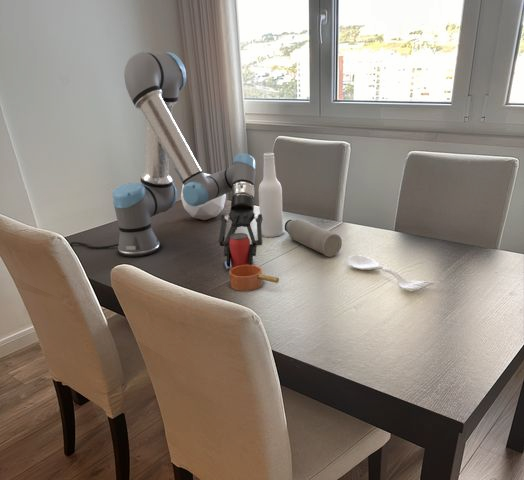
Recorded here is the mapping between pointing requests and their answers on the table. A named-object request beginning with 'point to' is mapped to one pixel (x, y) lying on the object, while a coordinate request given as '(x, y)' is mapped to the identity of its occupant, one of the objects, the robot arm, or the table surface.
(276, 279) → the pan handle
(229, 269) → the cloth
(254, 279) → the pan
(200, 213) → the geometric orb
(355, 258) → the spoon
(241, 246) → the beer can
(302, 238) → the thermos bottle
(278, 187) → the alcohol
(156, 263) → the table surface
